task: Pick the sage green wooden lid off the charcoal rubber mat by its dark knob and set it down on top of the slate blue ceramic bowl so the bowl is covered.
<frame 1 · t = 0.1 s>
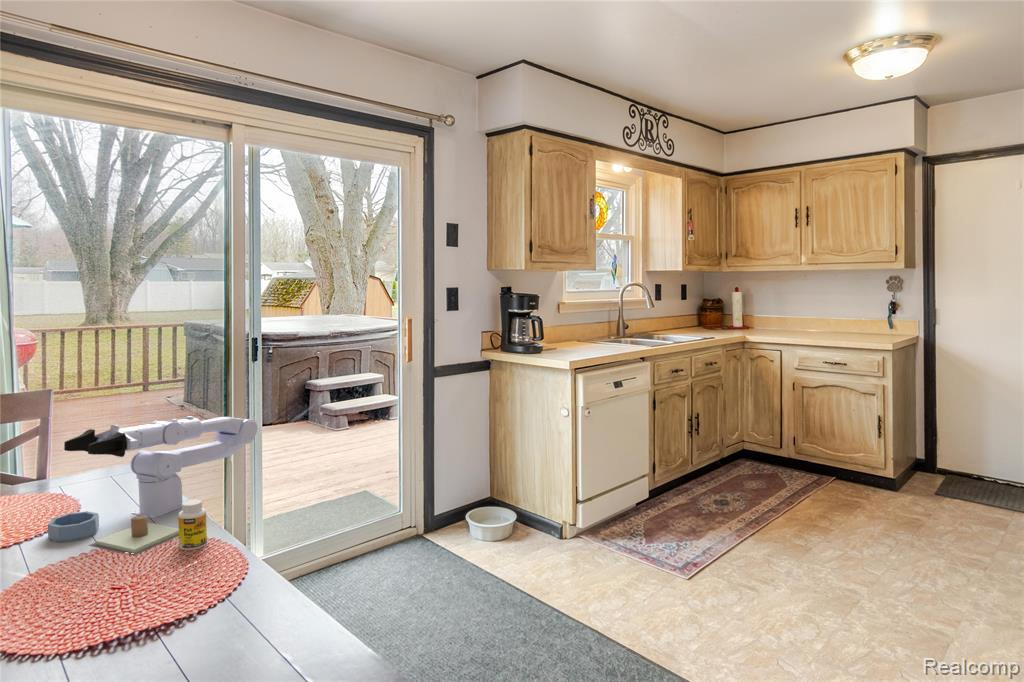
hand: (77, 447, 138), 22 cm above the table, tool horizontal, fingers open, 7 cm apart
supplement bottle: (193, 547, 138), on the table
lid: (140, 538, 141), resting on mat
bowl: (74, 535, 142), on the table
mat: (140, 539, 141), on the table
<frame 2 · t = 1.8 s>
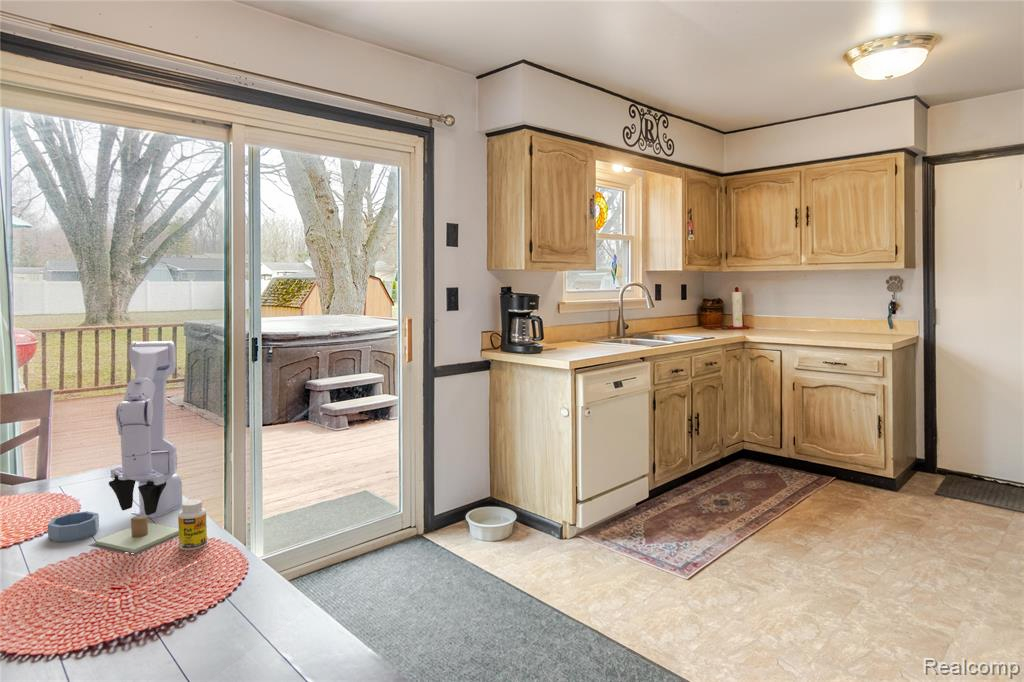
hand: (138, 511, 140), 7 cm above the table, tool pointing down, fingers open, 7 cm apart
nothing on the table moved.
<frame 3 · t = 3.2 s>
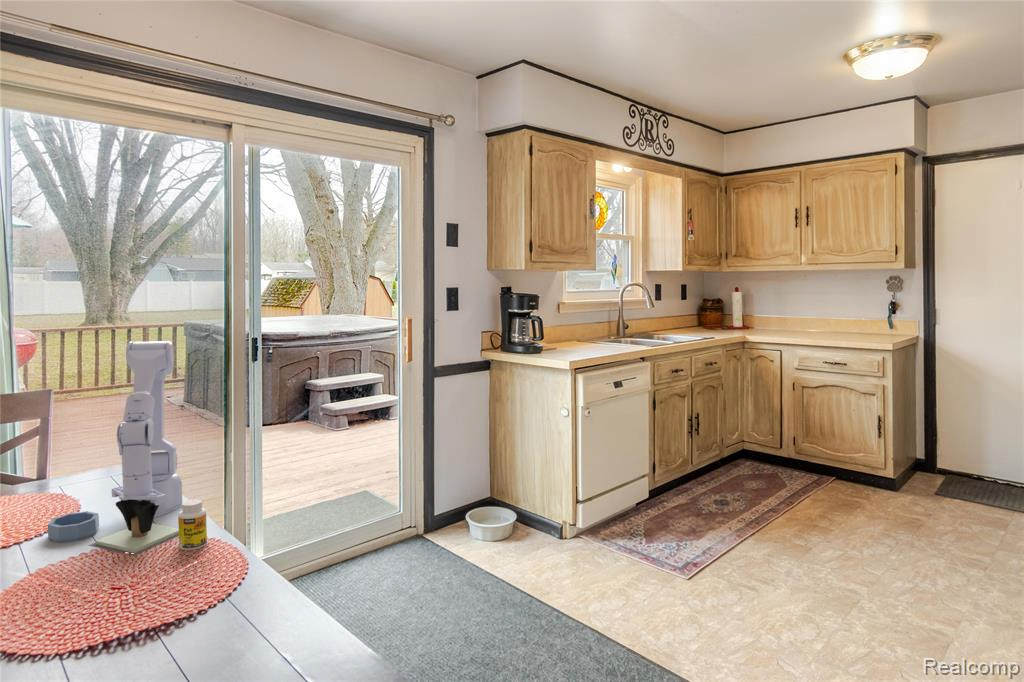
hand: (139, 530, 140), 2 cm above the table, tool pointing down, fingers closed on lid, 3 cm apart
lid: (140, 538, 141), resting on mat, touching gripper
everything else where it was.
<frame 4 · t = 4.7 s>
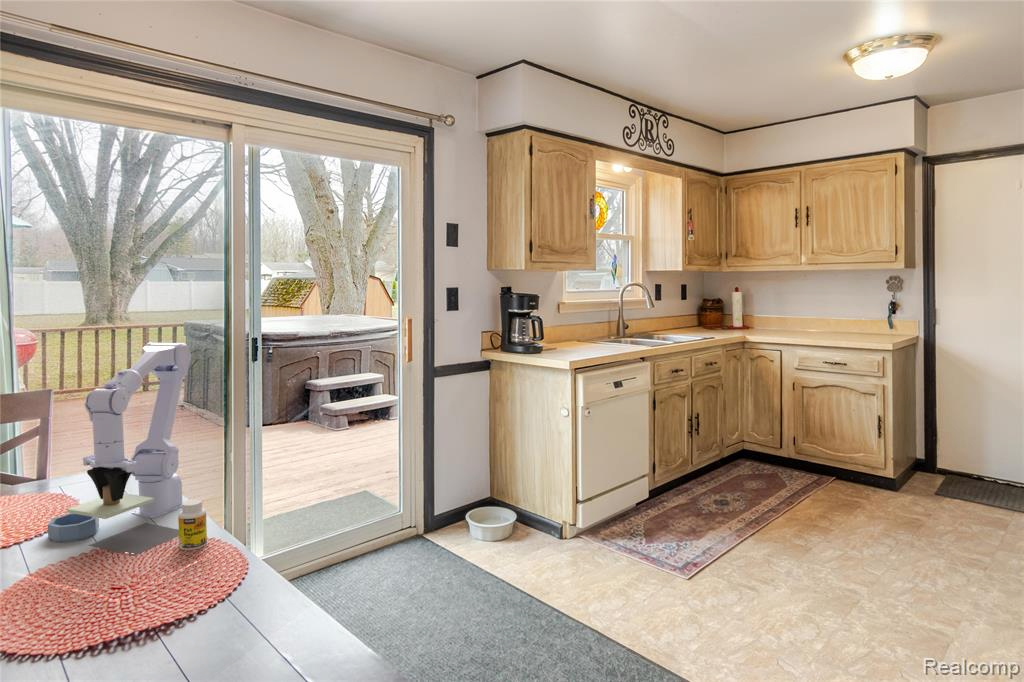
hand: (111, 498, 140), 9 cm above the table, tool pointing down, fingers closed on lid, 3 cm apart
lid: (112, 506, 141), point 8 cm above the table, touching gripper
everything else where it was.
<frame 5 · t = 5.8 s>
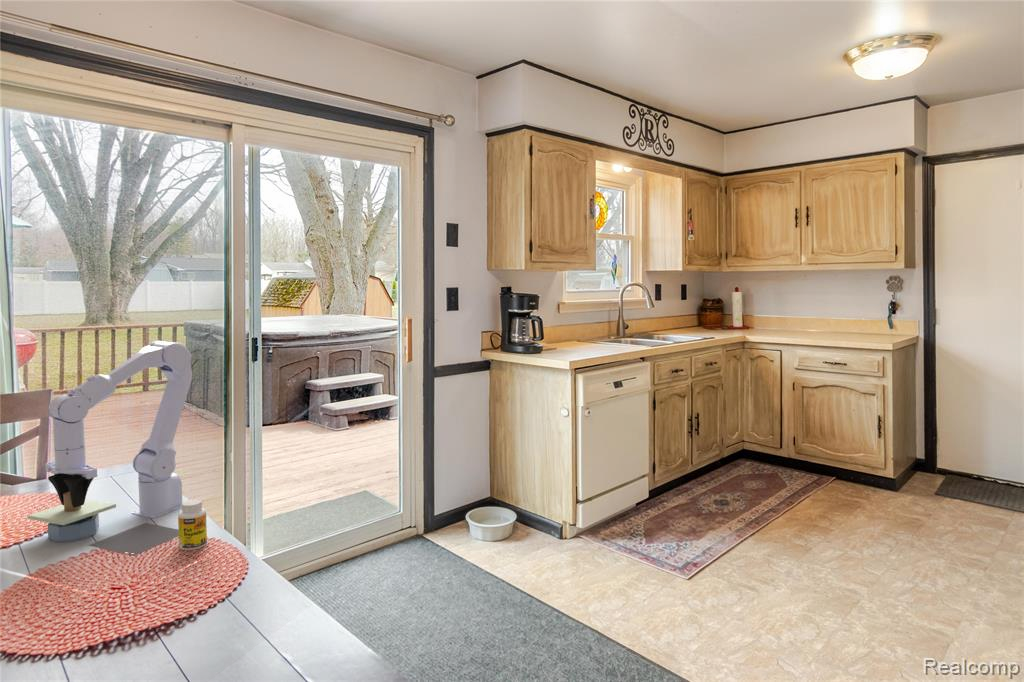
hand: (72, 504, 142), 7 cm above the table, tool pointing down, fingers closed on lid, 3 cm apart
lid: (73, 512, 142), point 6 cm above the table, touching gripper
everything else where it was.
when the fingers open (7 cm above the table, at t = 6.4 s): lid drops 2 cm, resting on bowl.
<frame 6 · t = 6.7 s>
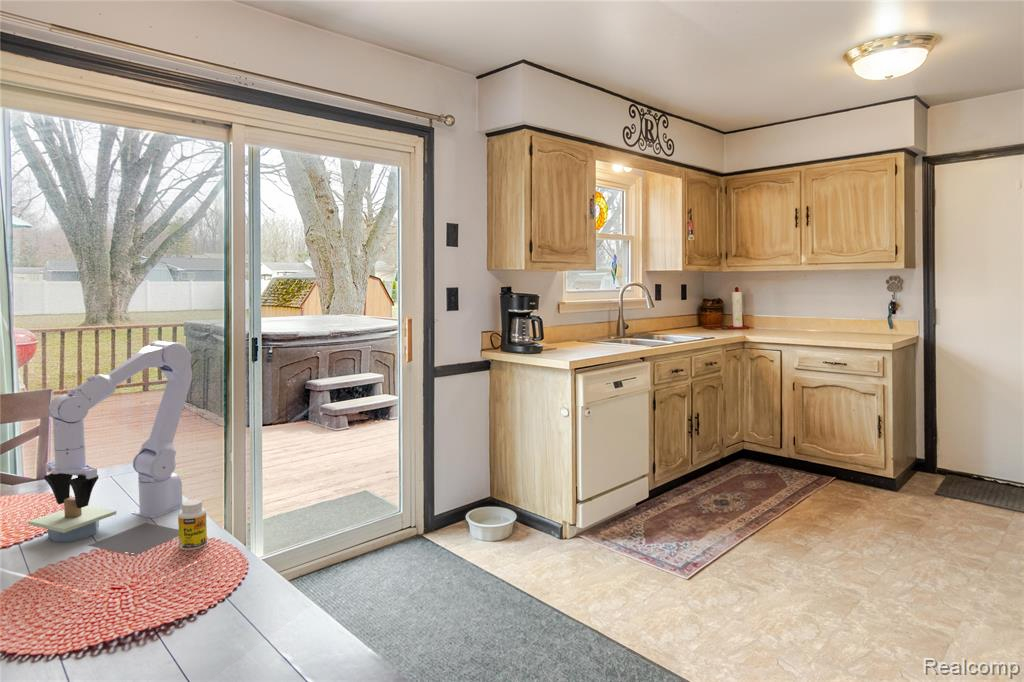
hand: (72, 504, 142), 7 cm above the table, tool pointing down, fingers open, 6 cm apart
lid: (73, 519, 142), point 4 cm above the table, touching bowl
everything else where it was.
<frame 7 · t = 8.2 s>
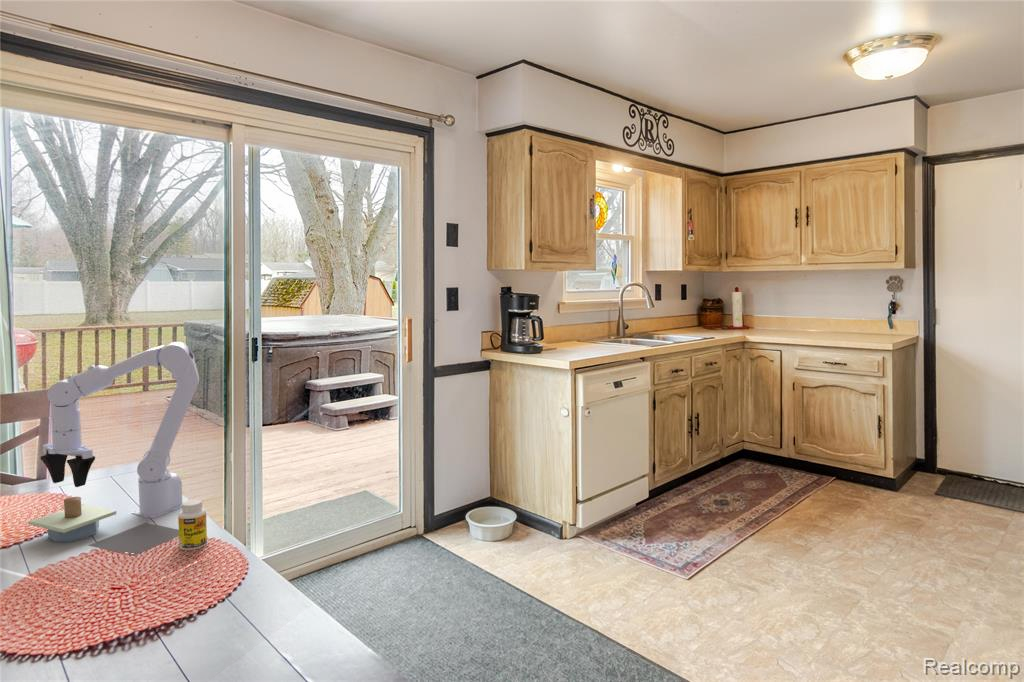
hand: (69, 483, 150), 10 cm above the table, tool pointing down, fingers open, 7 cm apart
nothing on the table moved.
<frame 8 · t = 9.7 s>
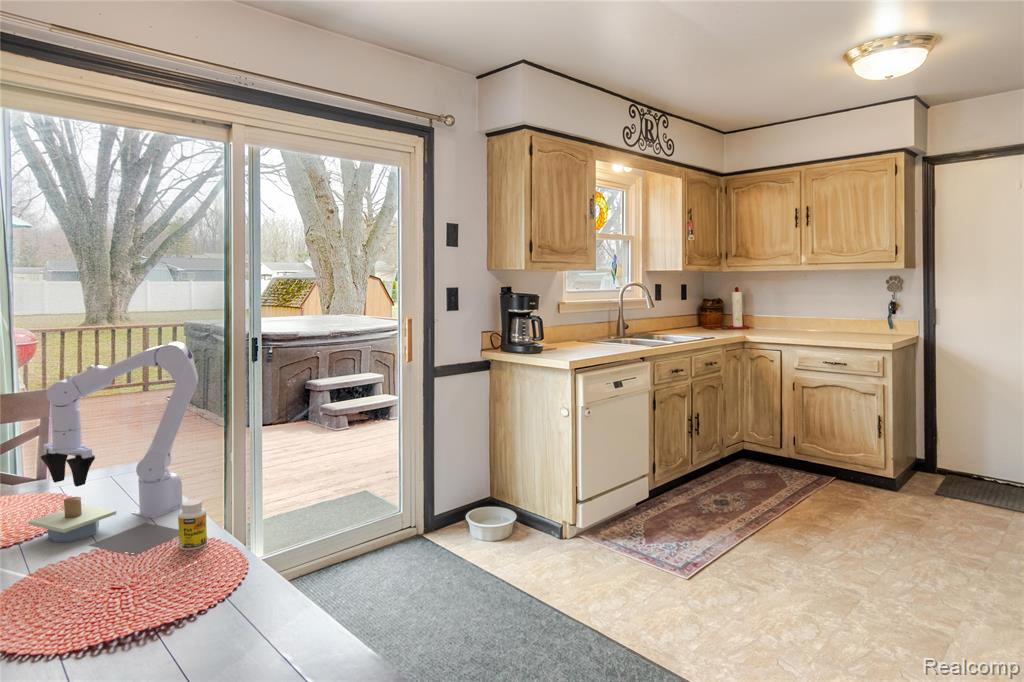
hand: (69, 483, 151), 9 cm above the table, tool pointing down, fingers open, 7 cm apart
nothing on the table moved.
at the end: lid 0.1 cm off-centre on the bowl, point 4.0 cm above the bowl's base; lid tilted 0°; the gripper is holding nothing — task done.
